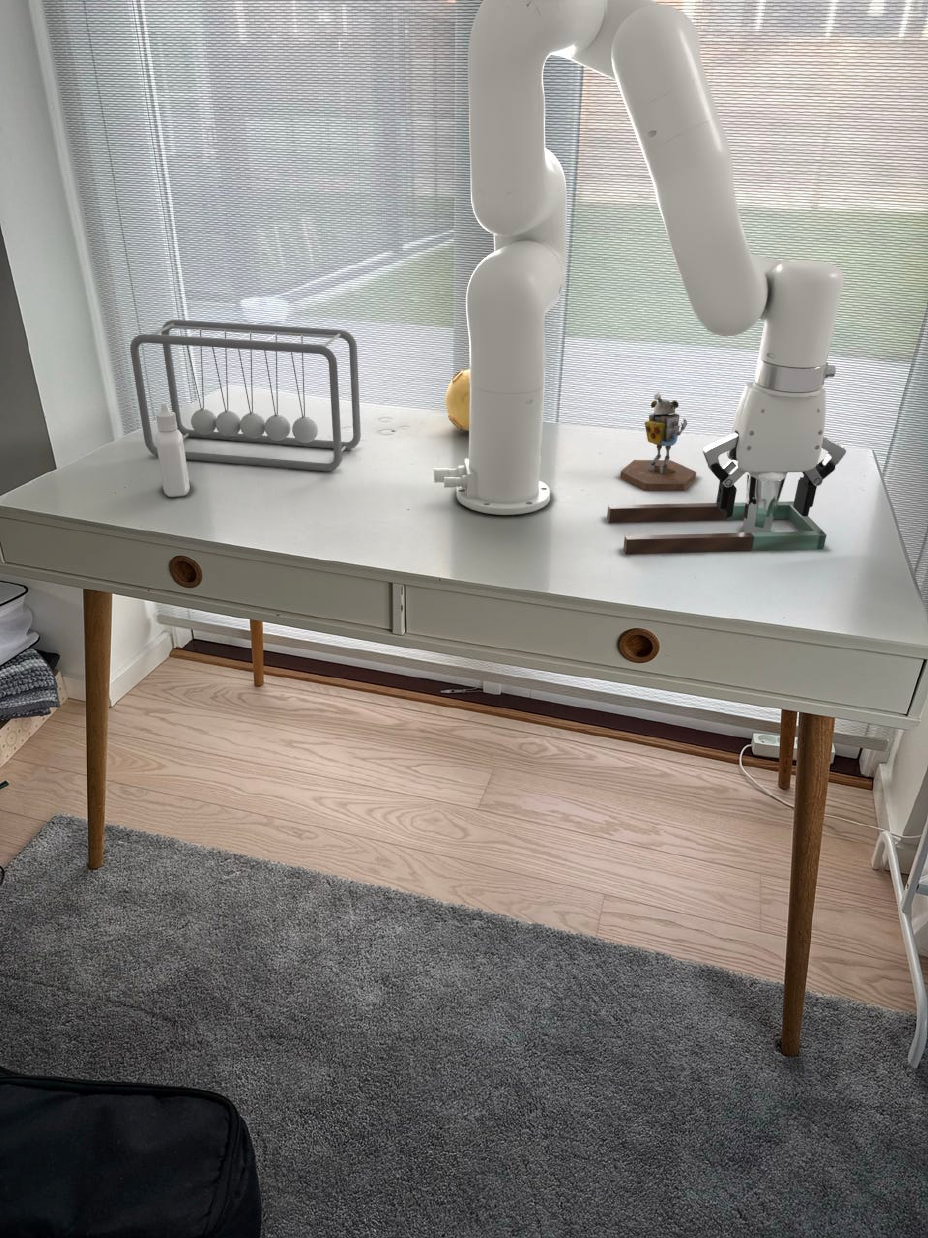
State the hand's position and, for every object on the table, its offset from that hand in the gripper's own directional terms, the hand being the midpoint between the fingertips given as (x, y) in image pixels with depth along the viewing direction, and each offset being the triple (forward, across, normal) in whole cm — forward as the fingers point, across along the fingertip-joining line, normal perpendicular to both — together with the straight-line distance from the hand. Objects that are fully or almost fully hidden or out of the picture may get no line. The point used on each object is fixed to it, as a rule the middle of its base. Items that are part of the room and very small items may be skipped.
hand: (762, 512), depth 118 cm
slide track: (+3, +6, 0) cm, 7 cm away
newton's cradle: (+3, +66, -32) cm, 73 cm away
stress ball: (+3, +32, -41) cm, 52 cm away
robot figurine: (+3, +8, -19) cm, 21 cm away
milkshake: (+3, 0, 0) cm, 3 cm away
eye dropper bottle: (+3, +75, -18) cm, 77 cm away
